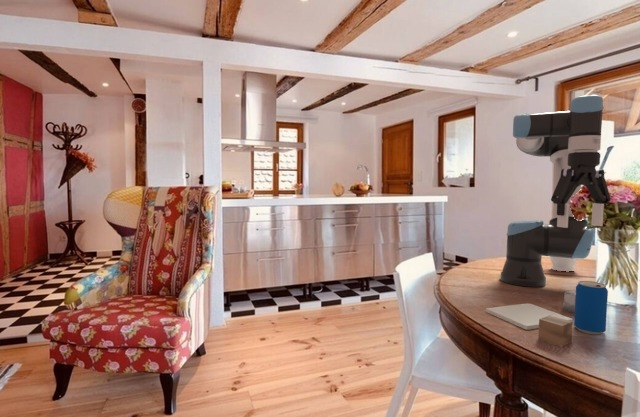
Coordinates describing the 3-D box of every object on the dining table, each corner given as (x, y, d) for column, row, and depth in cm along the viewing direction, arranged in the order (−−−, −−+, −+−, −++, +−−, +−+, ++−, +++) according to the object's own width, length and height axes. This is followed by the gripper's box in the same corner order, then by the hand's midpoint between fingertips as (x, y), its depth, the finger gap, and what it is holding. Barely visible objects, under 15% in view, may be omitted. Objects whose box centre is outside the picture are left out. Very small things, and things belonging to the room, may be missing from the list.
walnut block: (548, 335, 91) (549, 315, 91) (571, 342, 87) (572, 321, 86) (538, 339, 88) (539, 319, 88) (561, 347, 84) (562, 325, 84)
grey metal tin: (573, 306, 112) (574, 290, 112) (593, 313, 107) (594, 296, 106) (558, 308, 111) (559, 292, 110) (577, 315, 105) (578, 298, 104)
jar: (577, 269, 162) (579, 235, 161) (578, 274, 153) (580, 238, 152) (548, 266, 168) (550, 233, 167) (548, 270, 159) (549, 236, 158)
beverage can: (606, 337, 89) (609, 288, 89) (574, 332, 93) (576, 284, 92) (603, 329, 95) (606, 282, 94) (573, 323, 98) (575, 279, 97)
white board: (528, 306, 112) (528, 303, 112) (573, 322, 99) (573, 319, 99) (485, 311, 107) (485, 308, 107) (526, 329, 94) (526, 326, 94)
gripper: (563, 149, 98) (559, 229, 100) (628, 152, 106) (624, 226, 107) (538, 151, 105) (535, 226, 107) (601, 154, 113) (597, 223, 114)
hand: (579, 226), depth 107 cm, fingers open, 13 cm apart
